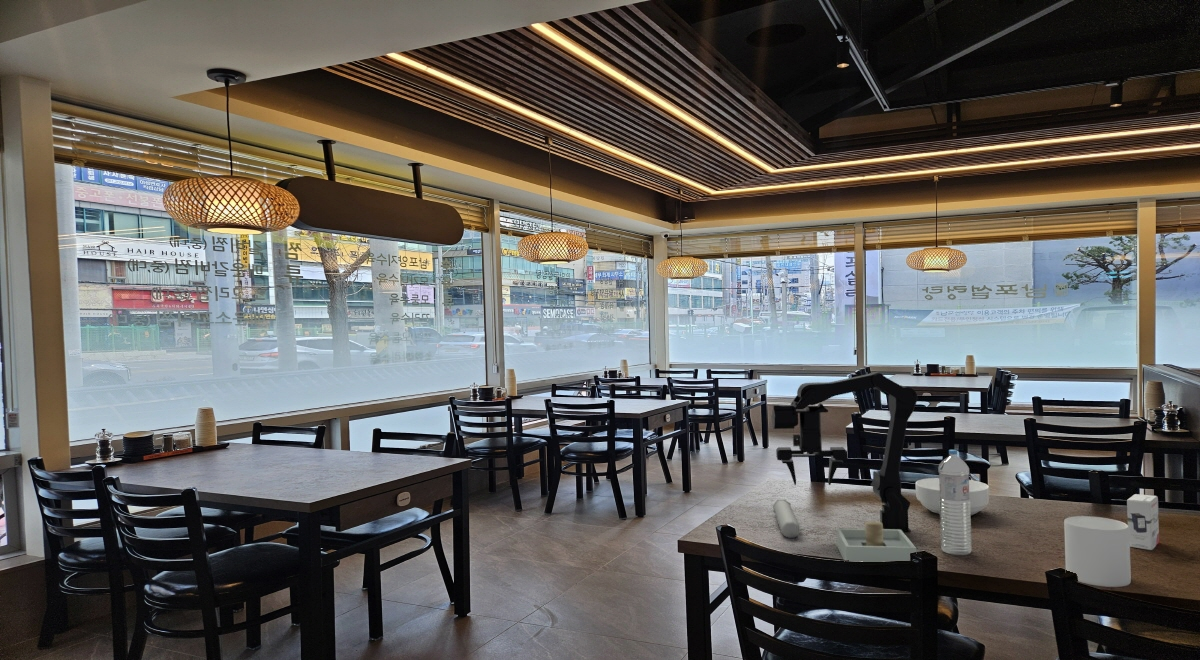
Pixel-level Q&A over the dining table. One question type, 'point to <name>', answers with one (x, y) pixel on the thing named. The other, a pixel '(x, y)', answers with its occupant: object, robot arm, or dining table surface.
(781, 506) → the tube
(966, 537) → the water bottle
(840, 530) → the caddy
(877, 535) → the peg
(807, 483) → the dining table surface
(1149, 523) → the ink box
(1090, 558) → the cup
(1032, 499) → the dining table surface
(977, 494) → the bowl
